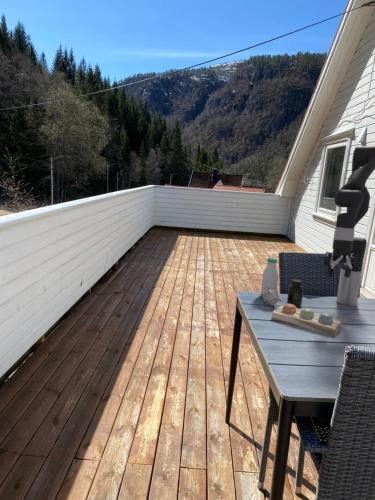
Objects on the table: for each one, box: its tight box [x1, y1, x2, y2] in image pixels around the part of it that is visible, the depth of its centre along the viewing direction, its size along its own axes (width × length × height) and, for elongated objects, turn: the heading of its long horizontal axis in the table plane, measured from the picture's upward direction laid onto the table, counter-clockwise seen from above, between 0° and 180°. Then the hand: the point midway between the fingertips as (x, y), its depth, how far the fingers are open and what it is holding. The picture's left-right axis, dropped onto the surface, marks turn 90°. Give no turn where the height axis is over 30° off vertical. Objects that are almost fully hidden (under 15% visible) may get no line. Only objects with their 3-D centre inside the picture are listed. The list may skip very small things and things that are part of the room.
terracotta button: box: [282, 303, 297, 314], centre depth 144 cm, size 5×5×3 cm
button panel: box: [271, 304, 343, 337], centre depth 140 cm, size 12×25×3 cm, turn 54°
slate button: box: [318, 312, 334, 324], centre depth 136 cm, size 5×5×3 cm
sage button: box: [300, 307, 315, 319], centre depth 140 cm, size 5×5×3 cm
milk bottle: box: [260, 257, 279, 298], centre depth 170 cm, size 8×8×20 cm
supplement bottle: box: [286, 278, 304, 308], centre depth 161 cm, size 7×7×12 cm
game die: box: [259, 288, 282, 308], centre depth 158 cm, size 9×8×10 cm
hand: (338, 277), depth 142 cm, fingers open, 8 cm apart
